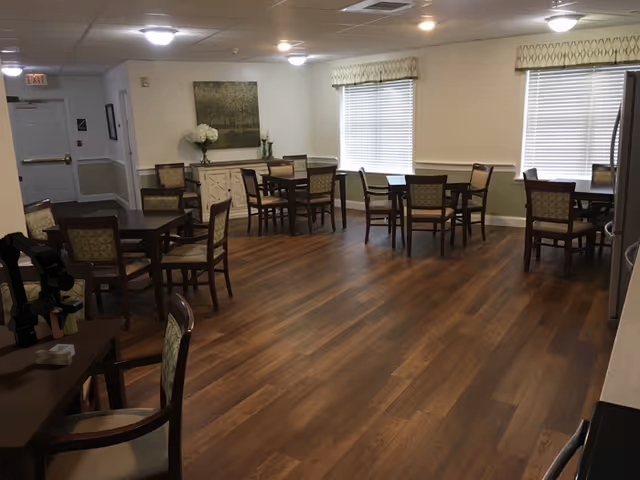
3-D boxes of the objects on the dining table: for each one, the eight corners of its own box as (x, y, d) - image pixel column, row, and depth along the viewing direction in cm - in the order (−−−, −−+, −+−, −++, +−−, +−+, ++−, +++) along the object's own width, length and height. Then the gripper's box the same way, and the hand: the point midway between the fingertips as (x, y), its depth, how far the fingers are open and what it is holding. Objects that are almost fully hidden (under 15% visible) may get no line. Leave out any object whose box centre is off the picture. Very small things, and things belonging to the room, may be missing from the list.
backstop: (36, 363, 174) (34, 352, 173) (40, 360, 176) (38, 350, 175) (68, 365, 172) (66, 354, 171) (72, 362, 174) (70, 351, 173)
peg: (51, 338, 175) (47, 313, 173) (57, 334, 178) (53, 310, 176) (59, 338, 175) (55, 313, 172) (65, 334, 177) (61, 310, 175)
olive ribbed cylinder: (81, 328, 202) (75, 294, 199) (72, 335, 196) (66, 300, 193) (66, 328, 203) (61, 294, 199) (57, 335, 197) (51, 300, 193)
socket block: (48, 361, 176) (46, 351, 175) (59, 353, 181) (57, 344, 180) (64, 361, 175) (62, 352, 174) (75, 353, 180) (73, 344, 180)
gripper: (7, 294, 166) (15, 338, 169) (60, 295, 163) (67, 340, 166) (31, 282, 176) (38, 325, 180) (81, 284, 173) (87, 326, 177)
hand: (57, 329), depth 176 cm, fingers closed on peg, 3 cm apart
